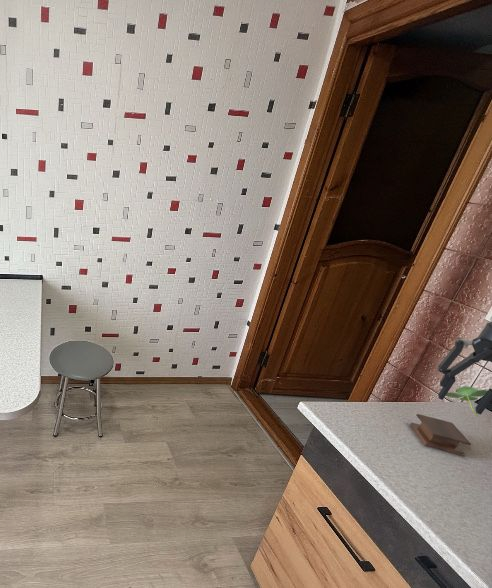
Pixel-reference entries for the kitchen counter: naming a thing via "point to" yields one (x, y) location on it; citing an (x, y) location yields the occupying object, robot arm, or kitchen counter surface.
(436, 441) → the plant stand
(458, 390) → the seedling
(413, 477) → the kitchen counter surface
